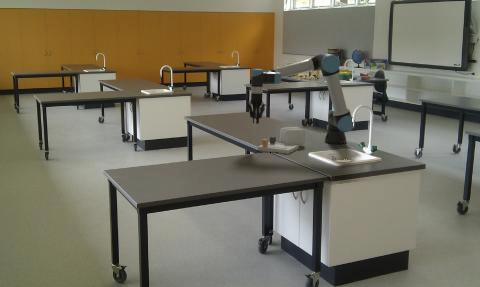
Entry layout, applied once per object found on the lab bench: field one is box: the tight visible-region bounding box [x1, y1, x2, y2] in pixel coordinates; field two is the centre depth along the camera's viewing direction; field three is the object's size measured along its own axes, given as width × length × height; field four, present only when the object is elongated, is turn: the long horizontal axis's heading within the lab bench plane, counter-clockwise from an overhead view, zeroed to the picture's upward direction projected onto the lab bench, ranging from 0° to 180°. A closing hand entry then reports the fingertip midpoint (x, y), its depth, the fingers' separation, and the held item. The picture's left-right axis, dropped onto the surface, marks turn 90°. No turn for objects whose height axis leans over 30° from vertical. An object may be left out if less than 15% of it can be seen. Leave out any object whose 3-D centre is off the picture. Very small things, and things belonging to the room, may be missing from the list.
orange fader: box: [261, 138, 269, 146], centre depth 350 cm, size 3×3×4 cm
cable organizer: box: [279, 126, 306, 147], centre depth 366 cm, size 15×11×12 cm
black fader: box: [269, 136, 277, 143], centre depth 359 cm, size 3×3×4 cm
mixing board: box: [257, 141, 300, 155], centre depth 352 cm, size 22×17×3 cm
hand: (255, 128), depth 351 cm, fingers closed
